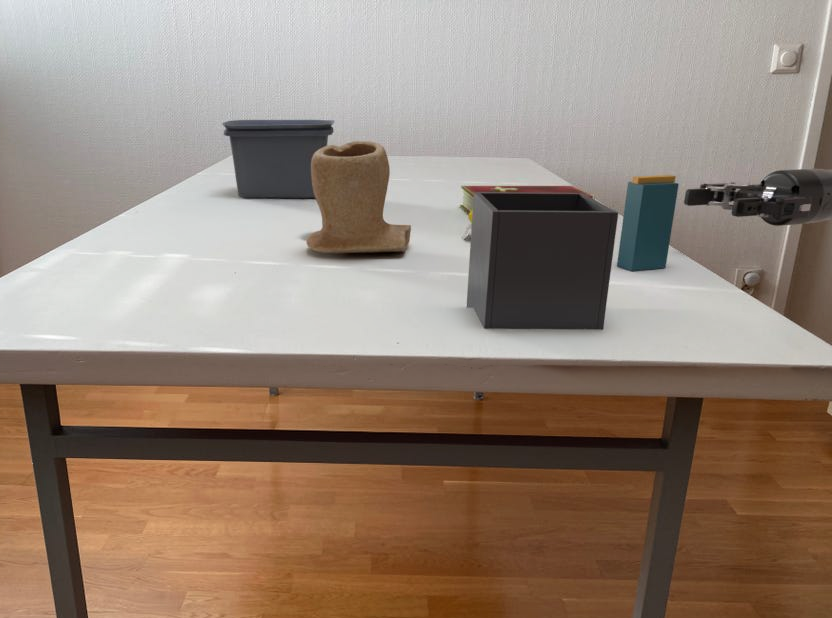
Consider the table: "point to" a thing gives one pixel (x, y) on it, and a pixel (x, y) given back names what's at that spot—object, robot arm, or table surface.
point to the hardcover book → (469, 191)
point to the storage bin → (275, 155)
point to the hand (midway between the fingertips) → (709, 202)
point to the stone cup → (354, 200)
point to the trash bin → (540, 260)
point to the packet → (647, 222)
